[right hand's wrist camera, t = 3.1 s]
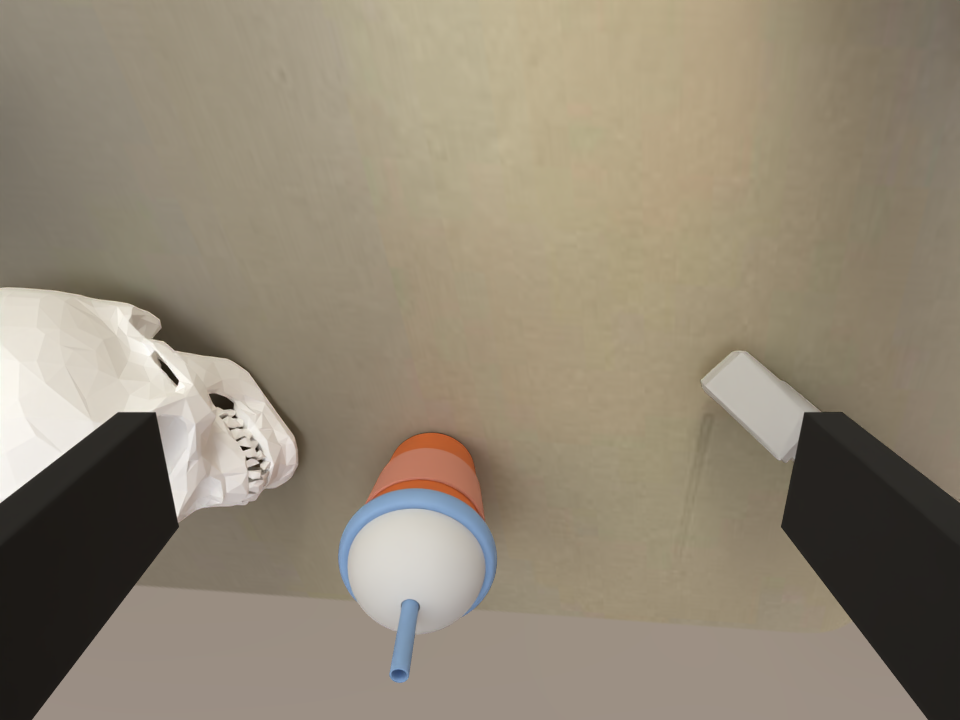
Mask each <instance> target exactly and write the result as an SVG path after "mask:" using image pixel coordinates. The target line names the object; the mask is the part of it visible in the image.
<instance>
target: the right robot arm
mask: <svg viewBox="0 0 960 720" xmlns="http://www.w3.org/2000/svg"><path fill="white" fill-rule="evenodd" d="M178 528H179V525H178V520H177V515H176V510H175V505H174V500H173V495H172V490H171V485H170V480H169V475H168V470H167V465H166V460H165V455H164V450H163V445H162V440H161V435H160V430H159V425H158V420H157V416H156V412H117V413H116V414H115V415H114V416H112V417H111V418H110V419H108V420H107V421H106V422H105V423H103V424H102V425H101V426H99V427H98V428H97V429H95V430H94V431H93V432H92V433H90V434H89V435H88V436H86V437H85V438H84V439H83V440H81V441H80V442H79V443H77V444H76V445H75V446H73V447H72V448H71V449H70V450H68V451H67V452H66V453H64V454H63V455H62V456H60V457H59V458H58V459H57V460H55V461H54V462H53V463H51V464H50V465H49V466H48V467H46V468H45V469H44V470H42V471H41V472H40V473H38V474H37V475H36V476H35V477H33V478H32V479H31V480H29V481H28V482H27V483H26V484H24V485H23V486H22V487H20V488H19V489H18V490H16V491H15V492H14V493H13V494H11V495H10V496H9V497H7V498H6V499H5V500H4V501H2V502H1V503H0V720H32V719H33V718H34V716H35V715H36V714H37V712H38V711H39V710H40V708H41V707H42V706H43V705H44V703H45V702H46V701H47V699H48V698H49V697H50V695H51V694H52V693H53V691H54V690H55V689H56V687H57V686H58V685H59V684H60V682H61V681H62V680H63V678H64V677H65V676H66V674H67V673H68V672H69V670H70V669H71V668H72V667H73V665H74V664H75V663H76V661H77V660H78V659H79V657H80V656H81V655H82V653H83V652H84V651H85V649H86V648H87V647H88V646H89V644H90V643H91V642H92V640H93V639H94V638H95V636H96V635H97V634H98V632H99V631H100V630H101V628H102V627H103V626H104V625H105V623H106V622H107V621H108V619H109V618H110V617H111V615H112V614H113V613H114V611H115V610H116V609H117V608H118V606H119V605H120V604H121V602H122V601H123V600H124V598H125V597H126V596H127V594H128V593H129V592H130V590H131V589H132V588H133V587H134V585H135V584H136V583H137V581H138V580H139V579H140V577H141V576H142V575H143V573H144V572H145V571H146V570H147V568H148V567H149V566H150V564H151V563H152V562H153V560H154V559H155V558H156V556H157V555H158V554H159V552H160V551H161V550H162V549H163V547H164V546H165V545H166V543H167V542H168V541H169V539H170V538H171V537H172V535H173V534H174V533H175V532H176V530H177V529H178ZM781 528H782V529H783V530H784V532H785V533H786V534H787V535H788V537H789V538H790V539H791V541H792V542H793V543H794V545H795V546H796V547H797V549H798V550H799V551H800V552H801V554H802V555H803V556H804V558H805V559H806V560H807V562H808V563H809V564H810V566H811V567H812V568H813V570H814V571H815V572H816V573H817V575H818V576H819V577H820V579H821V580H822V581H823V583H824V584H825V585H826V587H827V588H828V589H829V590H830V592H831V593H832V594H833V596H834V597H835V598H836V600H837V601H838V602H839V604H840V605H841V606H842V608H843V609H844V610H845V611H846V613H847V614H848V615H849V617H850V618H851V619H852V621H853V622H854V623H855V625H856V626H857V627H858V628H859V630H860V631H861V632H862V634H863V635H864V636H865V638H866V639H867V640H868V642H869V643H870V644H871V646H872V647H873V648H874V649H875V651H876V652H877V653H878V655H879V656H880V657H881V659H882V660H883V661H884V663H885V664H886V665H887V667H888V668H889V669H890V670H891V672H892V673H893V674H894V676H895V677H896V678H897V680H898V681H899V682H900V684H901V685H902V686H903V687H904V689H905V690H906V691H907V693H908V694H909V695H910V697H911V698H912V699H913V701H914V702H915V703H916V704H917V706H918V707H919V708H920V710H921V711H922V712H923V714H924V715H925V716H926V718H927V719H928V720H960V503H959V502H958V501H956V500H955V499H954V498H953V497H951V496H950V495H949V494H947V493H946V492H945V491H944V490H942V489H941V488H940V487H938V486H937V485H936V484H934V483H933V482H932V481H931V480H929V479H928V478H927V477H925V476H924V475H923V474H922V473H920V472H919V471H918V470H916V469H915V468H914V467H912V466H911V465H910V464H909V463H907V462H906V461H905V460H903V459H902V458H901V457H899V456H898V455H897V454H896V453H894V452H893V451H892V450H890V449H889V448H888V447H887V446H885V445H884V444H883V443H881V442H880V441H879V440H877V439H876V438H875V437H874V436H872V435H871V434H870V433H868V432H867V431H866V430H865V429H863V428H862V427H861V426H859V425H858V424H857V423H855V422H854V421H853V420H852V419H850V418H849V417H848V416H846V415H845V414H844V413H843V412H804V416H803V420H802V425H801V430H800V435H799V440H798V445H797V450H796V455H795V460H794V465H793V470H792V475H791V480H790V485H789V490H788V495H787V500H786V505H785V510H784V515H783V520H782V525H781Z"/></svg>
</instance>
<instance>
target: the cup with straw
mask: <svg viewBox="0 0 960 720" xmlns="http://www.w3.org/2000/svg"><path fill="white" fill-rule="evenodd" d="M338 560H339V568H340V573H341V576H342V579H343V582H344V584H345V586H346V588H347V589H348V591H349V593H350V594H351V595H352V597H353V598H354V599H355V600H356V601H357V602H358V604H359V605H360V606H361V608H362V609H363V610H364V611H365V612H366V614H367V615H369V616H370V617H371V618H372V619H373V620H374V621H376V622H377V623H379V624H380V625H382V626H384V627H386V628H388V629H390V630H393V631H396V632H397V635H396V641H395V646H394V652H393V658H392V663H391V669H390V678H391V679H392V680H393V681H395V682H399V683H401V682H405V681H406V680H407V679H408V677H409V672H410V665H411V658H412V651H413V644H414V637H415V634H426V633H431V632H435V631H438V630H441V629H443V628H445V627H447V626H449V625H451V624H453V623H454V622H456V621H457V620H458V619H460V618H461V617H463V616H464V615H466V614H468V613H469V612H470V611H472V610H473V609H474V608H475V607H476V606H477V605H478V604H479V603H480V602H481V601H482V600H483V599H484V597H485V596H486V594H487V593H488V591H489V589H490V587H491V585H492V583H493V580H494V577H495V573H496V567H497V552H496V546H495V542H494V539H493V536H492V534H491V532H490V529H489V528H488V526H487V524H486V523H485V517H484V510H483V503H482V496H481V489H480V485H479V481H478V479H477V477H476V473H475V467H474V463H473V459H472V457H471V455H470V453H469V452H468V451H467V449H466V448H465V447H464V446H463V445H462V444H461V443H460V442H458V441H457V440H455V439H454V438H452V437H449V436H447V435H443V434H439V433H423V434H419V435H416V436H413V437H411V438H409V439H407V440H406V441H404V442H403V443H402V444H401V445H400V446H399V447H398V448H397V449H396V451H395V452H394V454H393V456H392V458H391V460H390V462H389V463H388V464H387V465H386V466H385V467H384V469H383V470H382V472H381V474H380V476H379V477H378V479H377V481H376V483H375V485H374V487H373V489H372V491H371V493H370V495H369V497H368V499H367V501H366V503H365V505H364V506H363V507H361V508H360V509H359V510H358V511H357V512H356V513H355V514H354V515H353V517H352V518H351V519H350V521H349V522H348V524H347V526H346V528H345V530H344V532H343V534H342V537H341V541H340V545H339V554H338Z"/></svg>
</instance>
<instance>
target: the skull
mask: <svg viewBox="0 0 960 720" xmlns="http://www.w3.org/2000/svg"><path fill="white" fill-rule="evenodd" d="M161 328H162V327H161V323H160V319H158V318H157V317H156V316H154V315H153V314H151V313H150V312H148V311H145V310H143V309H140V308H137V307H136V306H134V305H131V304H129V303H124V302H117V301H109V300H101V299H95V298H90V297H85V296H83V295H78V294H72V293H66V292H61V291H55V290H42V289H30V288H12V287H6V288H0V503H1V502H2V501H4V500H5V499H6V498H7V497H9V496H10V495H11V494H13V493H14V492H15V491H16V490H18V489H19V488H20V487H22V486H23V485H24V484H26V483H27V482H28V481H29V480H31V479H32V478H33V477H35V476H36V475H37V474H38V473H40V472H41V471H42V470H44V469H45V468H46V467H48V466H49V465H50V464H51V463H53V462H54V461H55V460H57V459H58V458H59V457H60V456H62V455H63V454H64V453H66V452H67V451H68V450H70V449H71V448H72V447H73V446H75V445H76V444H77V443H79V442H80V441H81V440H83V439H84V438H85V437H86V436H88V435H89V434H90V433H92V432H93V431H94V430H95V429H97V428H98V427H99V426H101V425H102V424H103V423H105V422H106V421H107V420H108V419H110V418H111V417H112V416H114V415H115V414H116V413H117V412H156V416H157V420H158V425H159V430H160V435H161V440H162V445H163V450H164V455H165V460H166V465H167V470H168V475H169V480H170V485H171V490H172V495H173V500H174V505H175V510H176V515H177V520H178V523H179V522H180V521H182V520H183V519H184V518H186V517H187V516H189V515H190V514H191V513H193V512H194V511H196V510H198V509H201V508H207V507H218V506H233V505H246V504H247V503H248V502H249V501H256V499H257V498H258V496H259V494H260V493H261V492H262V491H263V490H264V489H265V488H268V489H270V488H276V487H278V486H280V485H281V484H283V483H285V482H286V481H288V480H289V479H290V478H291V477H292V476H293V474H294V472H295V470H296V468H297V466H298V448H297V444H296V441H295V437H294V435H293V434H292V432H291V431H290V430H289V428H288V427H287V426H286V424H285V423H284V421H283V420H282V419H281V417H280V416H279V415H278V413H277V412H276V410H275V409H274V408H273V406H272V405H271V403H270V402H269V401H268V399H267V398H266V396H265V395H264V394H263V392H262V391H261V389H260V388H259V386H258V385H257V384H256V382H255V381H254V379H253V378H252V377H251V375H250V374H249V372H247V371H246V370H245V369H243V368H242V367H241V366H239V365H238V364H236V363H235V362H233V361H231V360H229V359H226V358H218V357H211V356H203V355H197V354H192V353H186V352H180V351H175V350H173V349H172V348H171V347H170V346H169V345H168V344H166V343H165V342H164V341H159V340H153V337H154V336H155V335H156V334H157V333H158V332H159V330H160V329H161ZM158 359H160V360H161V361H162V362H164V363H165V364H166V365H167V366H168V367H169V368H170V369H171V371H172V372H173V373H174V375H175V376H176V377H177V378H178V380H179V383H178V386H177V385H176V384H175V383H174V382H173V381H172V380H171V379H170V378H169V377H168V375H167V374H166V373H165V372H164V371H163V370H162V369H161V364H160V361H159V360H158ZM211 393H215V394H218V395H222V396H225V397H227V398H228V399H229V400H231V401H232V402H233V403H234V407H233V410H232V409H227V410H223V409H221V408H219V407H215V406H214V404H213V403H212V401H211V398H210V396H209V394H211ZM234 415H235V416H236V417H237V418H238V419H237V418H232V417H233V416H234ZM224 416H225V417H226V418H224V419H221V418H223V417H224ZM240 427H243V429H239V428H240ZM232 428H235V429H233V430H229V429H232ZM239 438H241V440H239V441H238V442H237V441H236V440H237V439H239ZM240 446H245V447H250V448H251V449H248V450H244V451H243V450H242V449H241V447H240ZM256 447H257V448H258V450H259V451H258V452H256V450H255V448H256ZM246 457H254V459H249V460H247V461H246ZM261 459H262V461H263V462H262V463H260V467H251V466H254V465H256V464H259V462H258V460H261Z"/></svg>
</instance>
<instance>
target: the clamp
mask: <svg viewBox="0 0 960 720" xmlns="http://www.w3.org/2000/svg"><path fill="white" fill-rule="evenodd" d="M700 381H701V386H702V388H703V390H704V392H705V393H707V394H708V395H709V396H710V397H711V398H712V399H714V400H715V401H716V402H717V403H718V404H719V405H721V406H722V407H723V408H724V409H725V410H726V411H727V412H728V413H729V414H730V415H731V416H732V417H733V418H734V419H735V420H736V421H737V422H739V423H740V424H741V425H742V426H743V427H744V428H745V429H746V430H747V431H748V432H749V433H750V434H751V435H752V436H753V437H754V438H755V439H756V440H757V441H758V442H760V443H761V444H762V445H763V446H764V447H765V448H766V449H767V450H768V451H769V452H770V453H771V454H772V455H773V456H774V457H775V458H776V459H777V460H782V461H783V462H784V463H787V462H788V461H789V460H790V459H791V460H792V461H793V462H794V460H795V455H796V450H797V445H798V440H799V435H800V430H801V425H802V420H803V416H804V412H821V411H820V410H819V409H818V408H816V407H815V406H814V405H813V404H812V403H810V402H809V401H808V400H807V399H806V398H804V397H803V396H802V395H801V394H800V393H798V392H797V391H796V390H795V389H794V388H792V387H791V386H790V385H789V384H788V383H786V382H785V381H782V380H780V379H779V378H778V377H776V376H775V375H774V374H773V373H772V372H771V371H769V370H768V369H767V368H766V367H765V366H764V365H762V364H761V363H760V362H759V361H758V360H756V359H755V358H754V357H753V356H752V355H750V354H749V353H748V352H746V351H740V350H738V351H733V352H731V353H730V354H729V355H728V356H727V357H725V358H724V359H723V360H722V361H721V362H720V363H719V364H718V365H717V366H716V367H714V368H713V369H712V370H711V371H710V372H709V373H708V374H707V375H706V376H705V377H703V378H702V379H701V380H700Z"/></svg>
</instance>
